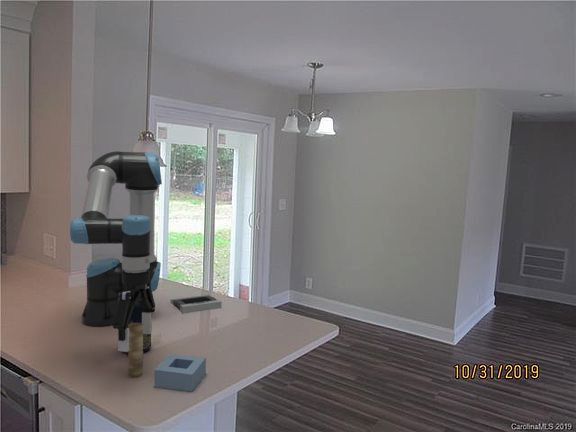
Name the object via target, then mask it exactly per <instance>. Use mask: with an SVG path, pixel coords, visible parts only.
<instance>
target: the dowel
mask: <svg viewBox="0 0 576 432" xmlns="http://www.w3.org/2000/svg"><path fill="white" fill-rule="evenodd" d="M128 328H129V351H128V353H127V354H128V357H127V358H128V360H127V361H128V362H127V363H128V365H127V368H128V370H127V376H128V377H129V378H140V377H142V376H143V372H144V371H143V369H144V367H143V365H144V364H143V363H144V361H143V359H144V357H143V356H144V352H143V324H142V323H131V324H129V325H128Z"/></svg>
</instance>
